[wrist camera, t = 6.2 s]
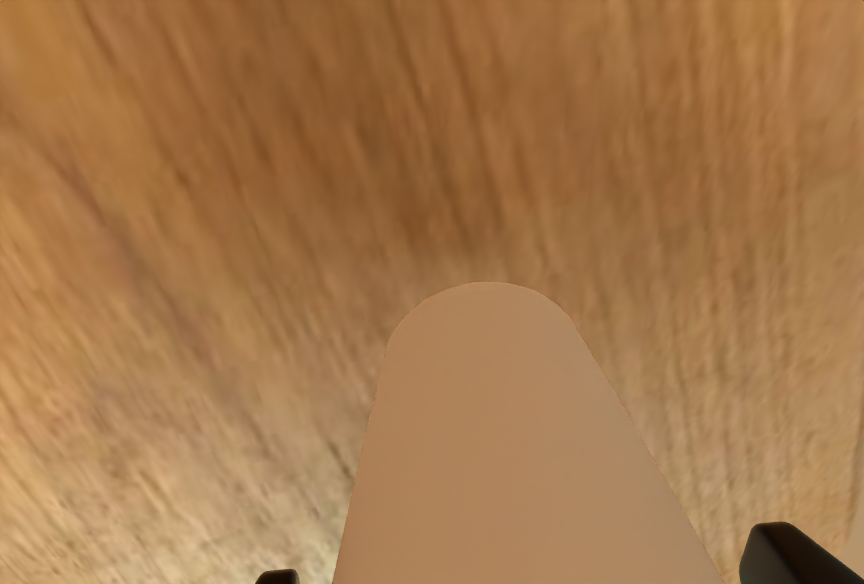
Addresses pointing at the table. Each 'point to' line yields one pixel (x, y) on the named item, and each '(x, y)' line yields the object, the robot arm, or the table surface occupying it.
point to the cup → (507, 459)
